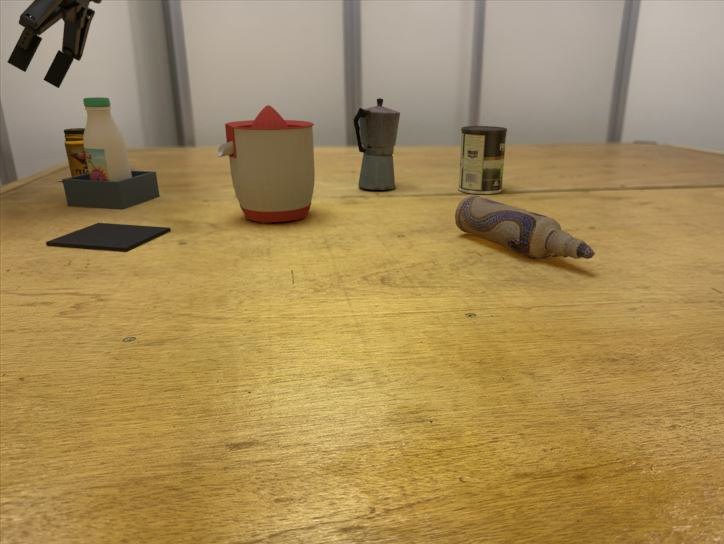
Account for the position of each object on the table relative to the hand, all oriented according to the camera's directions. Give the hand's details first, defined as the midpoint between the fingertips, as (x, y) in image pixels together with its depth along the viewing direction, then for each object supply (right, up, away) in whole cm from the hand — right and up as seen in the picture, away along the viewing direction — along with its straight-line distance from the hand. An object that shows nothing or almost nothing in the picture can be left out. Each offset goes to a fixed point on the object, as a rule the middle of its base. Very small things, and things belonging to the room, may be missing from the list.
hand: (34, 76), depth 101 cm
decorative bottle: (+85, -33, -14) cm, 92 cm away
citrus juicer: (+43, -25, +4) cm, 50 cm away
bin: (+7, -20, +14) cm, 26 cm away
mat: (+19, -31, -10) cm, 38 cm away
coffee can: (+86, -15, +29) cm, 92 cm away
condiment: (-12, -11, +36) cm, 39 cm away
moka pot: (+61, -15, +29) cm, 70 cm away
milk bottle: (+7, -20, +14) cm, 26 cm away
